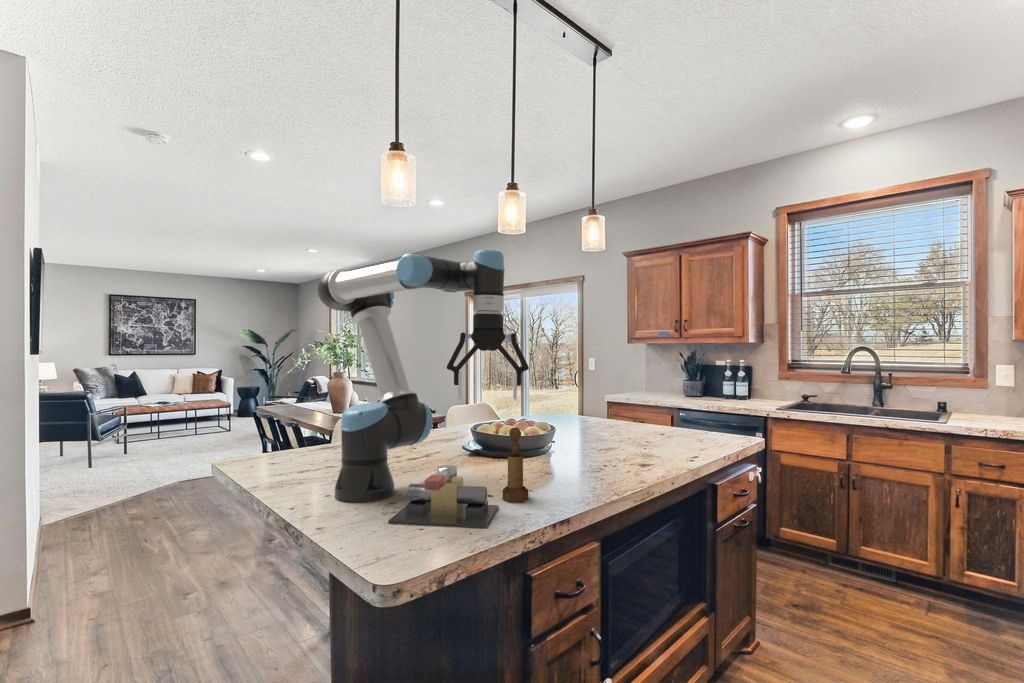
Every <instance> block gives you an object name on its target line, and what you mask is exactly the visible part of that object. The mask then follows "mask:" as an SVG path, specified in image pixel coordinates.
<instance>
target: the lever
mask: <svg viewBox="0 0 1024 683" xmlns="http://www.w3.org/2000/svg"><path fill="white" fill-rule="evenodd" d="M456 476H458V466H456V465H452V464H445V465H440V466H437V472H436V473H434V474H431V475H430V476H428V477H427V478H426V479H425V480H424V482H423V484H424V490H430V491H439V490H440V489H441V488H442V487H443V486H444V485H445V482H446V481H447V480H448V479H449V478H454V477H456Z"/></svg>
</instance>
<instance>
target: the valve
mask: <svg viewBox="0 0 1024 683" xmlns="http://www.w3.org/2000/svg"><path fill="white" fill-rule="evenodd" d="M406 497H407V500H408V502H407V503H406V504H405V506H404V507H402V508H401V509H400V510H399V511H398V512H397V513H395V514H394V515H393V516H392V517H391V518H390V519H388V522H387V523H388V524H390V525H391V524H392V525H395V524H396V525H408V526H409V525H410V526H411V525H412V526H413V525H414V526H432V527H434V526H436V527H452V528H453V527H454V528H469V529H470V528H471V529H472V528H473V529H476V528H477V529H487V528H488V527H489V525H490V523H491V522H492V520H493V518H494V516H495V515H496V512H497V511H498V509H499V505H498V504H489V500H488V488H487V486H480V485H479V486H474V485H464V476H459V475H457V476H456V477H454V478H449V479H448V480H447V481H446V482H445V485H444V486H443V487H442V488H441V489H440V490H439V491H430V490H424V483H423V484H422V483H410V484H409V486H408V488H407V496H406Z"/></svg>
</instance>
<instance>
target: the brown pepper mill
mask: <svg viewBox="0 0 1024 683" xmlns="http://www.w3.org/2000/svg"><path fill="white" fill-rule="evenodd" d="M508 435H509V438H510V439H511V441H512V443H511V445H510V450H511V453H509V454H507V485H506V486H505V487H504V488H502V500H503V501H504V502H506V503H514V504H516V503H517V504H519V503H525V502H527V501H528V500H529V489H528V488H527V487H526V486H525V485H524V455H523V454H521V453H520V448H521V447H520V446H521V445H519V440H520V438H521V436H522V430H521V429H520V428H519V427H511V429H509V431H508Z"/></svg>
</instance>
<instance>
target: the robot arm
mask: <svg viewBox="0 0 1024 683" xmlns="http://www.w3.org/2000/svg"><path fill="white" fill-rule="evenodd" d="M504 258H505V257H504V254H503V253H502V252H501V251H499V250H495V249H494V250H493V249H481V250H477V251H476V250H475V251H474V253H473V258H472V259H473V260H470V261H469V260H467V261H455V260H449V259H444V258H443V259H442V258H438V257H433V256H429V255H424V254H420V253H406V254H403V255H402V257H400V258H399V260H397V261H392V262H387V263H382V264H378V265H373V266H368V267H363V268H359V269H352V270H347V269H345V268H344V269H343V268H340V269H335V270H330V271H327V272H326V273H324V274H323V275H322V276H321V277H320V278H319V279H318V280H319V281H318V282H317V287H316V289H317V290H316V292H317V295H318V298H319V299H320V301H321V302H322V304H324V305H325V307H327V308H329V309H332V310H334V311H340V312H349V313H350V316H351V319H352V322H353V323H354V324H356V325H359V328H360V329H359V330H360V331H361V336H362V339H363V341H364V342H363V343H364V345H365V350H366V352H367V356H368V359H369V363H370V366H371V369H372V370H371V371H372V373H373V376H374V381H375V384H376V386H377V390H378V395H379V396H380V399H379V401H378V402H377V401H376V402H368V403H359V404H354V405H351V406H350V407H347V408H346V409H344V410H343V412H342V414H341V421H340V422H341V423H340V431H341V432H340V433H341V467H340V470H339V473H338V476H337V480H336V483H335V487H334V498H335V500H338V501H341V502H349V503H362V502H365V503H366V502H373V501H378V500H382V499H385V498H388V497H390V496H393V494H394V493H395V482H394V479H393V476H392V472H391V470H390V467H389V464H388V450H392V449H397V448H401V447H406V446H414V445H415V444H419V443H421V442H423V441H425V440H427V438H428V436H429V435H430V434H431V430H432V428H433V421H434V420H433V414H432V411H431V408H430V407H429V406H428V405H426V403H424V402H423V401H422V402H421V401H419V396H418V395H417V392H415V391H413V390H411V389H410V386H409V382H408V379H407V377H406V372H405V370H404V365H403V363H402V360H401V357H400V353H399V350H398V346H397V343H396V340H395V337H394V334H393V330H392V328H391V324H390V321H389V316H390V315H391V312H392V310H391V309H392V308H393V305H394V301H393V300H394V299H395V293H397V292H403V291H408V290H416V289H423V288H426V289H437V290H440V291H442V292H444V293H457V292H467V291H468V292H469V291H473V304H472V305H473V307H472V308H473V312H474V313H475V314H473V317H472V318H473V319H472V320H473V322H472V323H473V324H472V333H466V332H464V331H463V332H461V333H460V335H459V342H458V343H457V346H456V347H455V349H454V351H453V354H452V355H451V357H450V359H449V361H448V363H447V365H446V369H447V370H449V371H451V372H453V384H454V386H458V387H457V388H458V395H457V397H458V399H457V400H462V399H463V396H462V395H463V372H462V371H460V370H461V369H462V368H463V366H464V365H465V364H466V363H467V362H468V361H469V359H471V357H472V356H473V355H474V354H475V352H477V351H478V350H479V351H482V352H486V351H491V352H495V351H497V350H498V351H499V352H500V353H501V354H502V356H503V357H504V358H505V359H506V361H507V362H509V364H510V366H512V368H513V369H514V370H515V372H513V373H512V374H513V375H512V399H513V400H517V397H518V396H517V395H518V394H517V392H518V390H517V389H518V387H517V386H519V387H520V386H521V385H522V373H523V372H524V371H525V372H526V371H528V370H529V368H530V367H529V365H528V363H527V361H526V359H525V356H524V355H523V352H522V351H521V348H520V346H519V345H518V344H519V343H518V342H517V335H516V333H514V332H512V333H509V334H506V333H505V332H504V315H503V314H502V313H503V312H504V307H505V305H504V304H505V303H504V302H505V300H504V299H505V296H504V295H505V294H504V284H505V283H504V282H505V270H506V269H505V262H504V261H505V259H504ZM469 339H471V340H472V342H473V343H474V345H473V347H472V348H471V349H470V350H469V351H468V352H467V354H466V355H464V356H463V357H462V359H461V360H460V361H459V363H458V364H456V366H455V365H454V364H455V362H456V361H457V359H458V357H459V354H460V353H461V350H462V349H463V346H464V345H465V342H468V341H469ZM505 340H507V341H508V343H511V346H512V348H513V349H514V352H515V354H516V356H517V358H518V360H519V362H520V365H521V366H519V364H518V363H517V362H516V361H515V359H513V357H512V356H511V355H510V354H509V352H507V350H506V349H505V347H504V346H503V345H502V344H503V343H504V341H505Z"/></svg>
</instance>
